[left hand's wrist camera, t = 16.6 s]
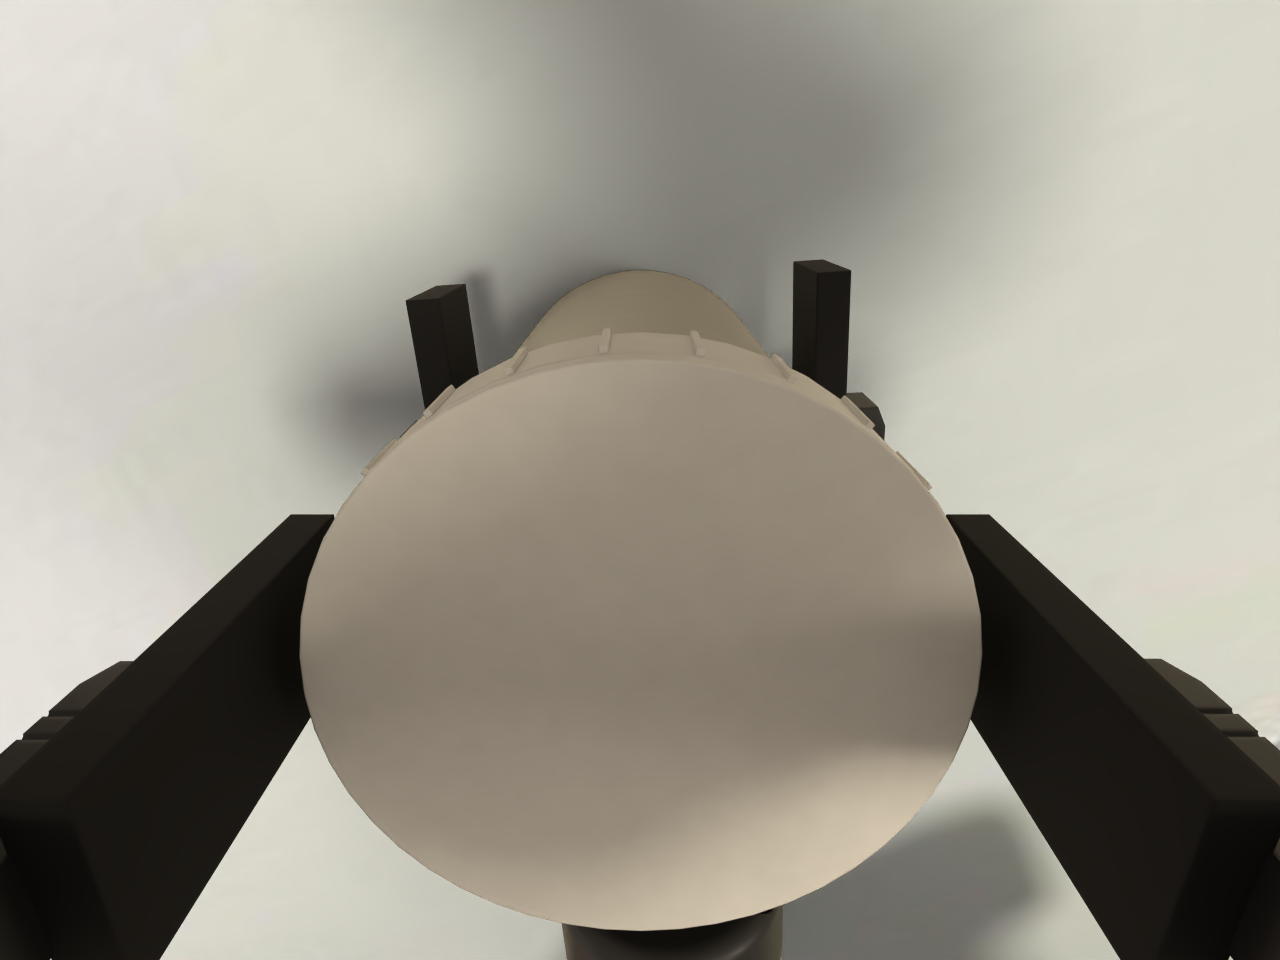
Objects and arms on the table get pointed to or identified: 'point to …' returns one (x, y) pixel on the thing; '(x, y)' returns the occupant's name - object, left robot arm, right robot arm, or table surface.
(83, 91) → the table surface
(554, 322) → the jar
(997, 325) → the table surface
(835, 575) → the lid
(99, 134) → the table surface
